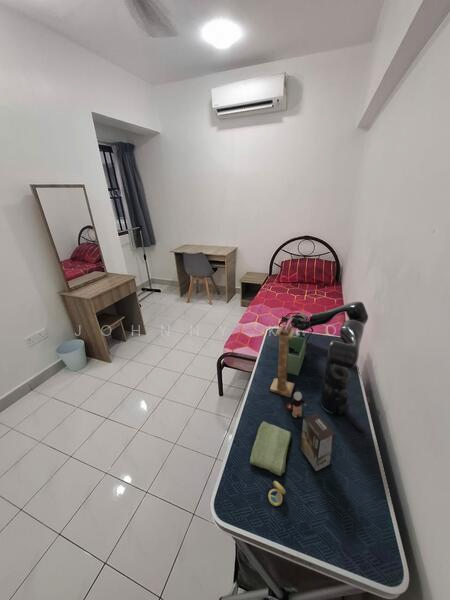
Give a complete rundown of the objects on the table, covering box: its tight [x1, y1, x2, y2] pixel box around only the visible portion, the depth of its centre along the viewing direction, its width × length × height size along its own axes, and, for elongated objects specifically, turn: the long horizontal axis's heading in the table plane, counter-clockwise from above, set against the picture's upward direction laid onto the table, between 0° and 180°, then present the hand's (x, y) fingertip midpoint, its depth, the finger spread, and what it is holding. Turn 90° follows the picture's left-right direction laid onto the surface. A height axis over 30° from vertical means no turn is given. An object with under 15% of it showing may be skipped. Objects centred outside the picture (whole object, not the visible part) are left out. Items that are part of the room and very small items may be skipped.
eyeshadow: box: [267, 480, 287, 507], centre depth 76 cm, size 4×5×5 cm
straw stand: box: [269, 324, 296, 398], centre depth 110 cm, size 10×8×35 cm
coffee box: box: [300, 412, 336, 472], centre depth 84 cm, size 9×6×16 cm
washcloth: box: [249, 421, 292, 477], centre depth 90 cm, size 13×18×3 cm
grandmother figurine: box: [288, 391, 307, 418], centre depth 101 cm, size 8×4×13 cm, turn 109°
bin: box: [287, 335, 307, 376], centre depth 131 cm, size 11×18×12 cm, turn 153°
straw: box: [283, 318, 293, 334], centre depth 106 cm, size 1×13×1 cm, turn 153°
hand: (293, 321), depth 118 cm, fingers open, 8 cm apart
